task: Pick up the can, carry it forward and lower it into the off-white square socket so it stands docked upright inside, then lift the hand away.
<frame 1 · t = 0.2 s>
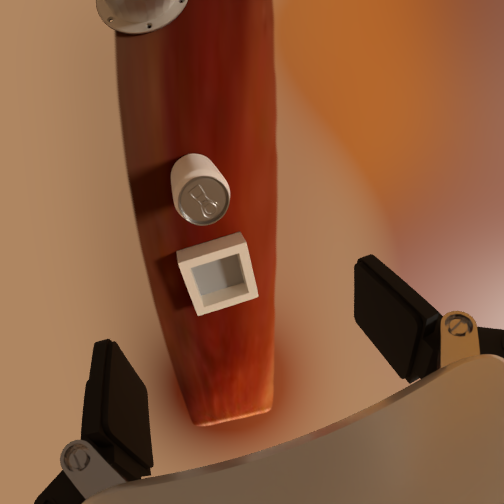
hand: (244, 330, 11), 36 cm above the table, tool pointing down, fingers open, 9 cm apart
dock socket: (216, 268, 51), on the table
can: (192, 174, 44), on the table
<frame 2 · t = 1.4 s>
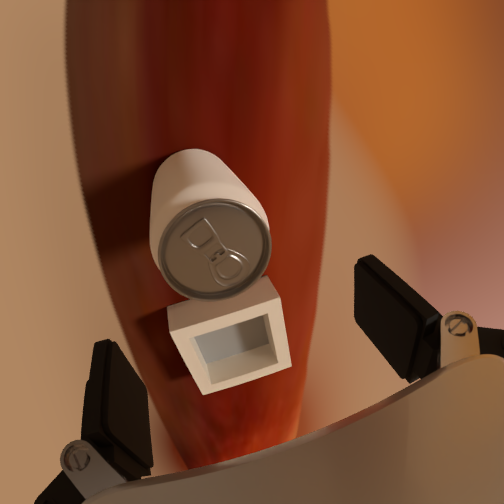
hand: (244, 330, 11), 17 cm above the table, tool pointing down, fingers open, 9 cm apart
dock socket: (228, 328, 33), on the table
can: (191, 185, 25), on the table
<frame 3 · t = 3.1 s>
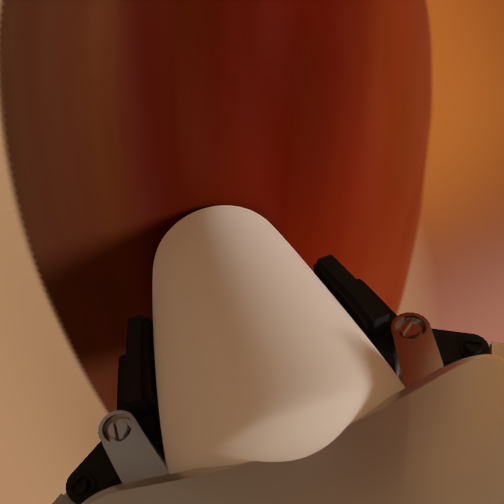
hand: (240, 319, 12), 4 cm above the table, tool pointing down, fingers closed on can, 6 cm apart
can: (218, 263, 16), on the table, touching gripper
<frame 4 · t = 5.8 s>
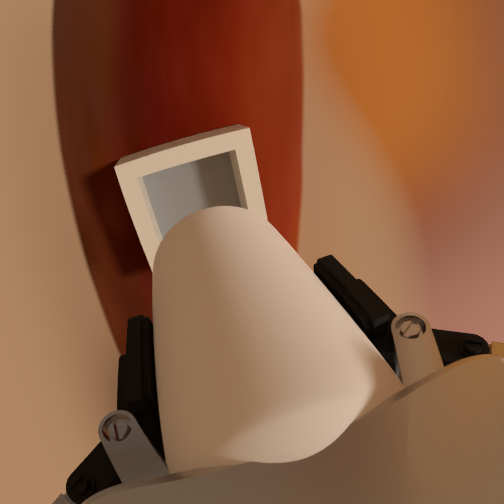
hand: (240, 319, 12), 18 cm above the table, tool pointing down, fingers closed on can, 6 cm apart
dock socket: (193, 195, 27), on the table
can: (218, 264, 16), point 14 cm above the table, touching gripper
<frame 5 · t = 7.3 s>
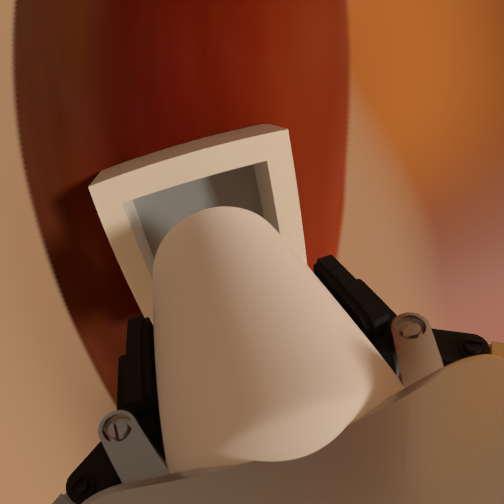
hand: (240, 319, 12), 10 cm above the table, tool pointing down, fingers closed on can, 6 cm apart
dock socket: (203, 220, 20), on the table
can: (218, 264, 16), point 6 cm above the table, touching gripper
when the fingers open (6 cm above the table, at t = 8.6 s): can drops 1 cm, resting on dock socket.
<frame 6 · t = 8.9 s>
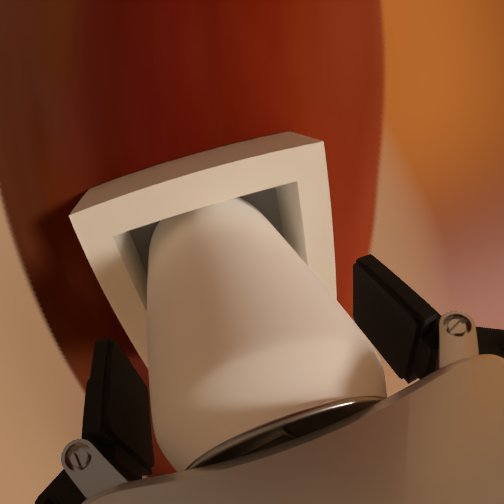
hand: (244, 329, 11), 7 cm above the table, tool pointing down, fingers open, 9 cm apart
dock socket: (213, 248, 17), on the table
can: (210, 248, 17), resting on dock socket
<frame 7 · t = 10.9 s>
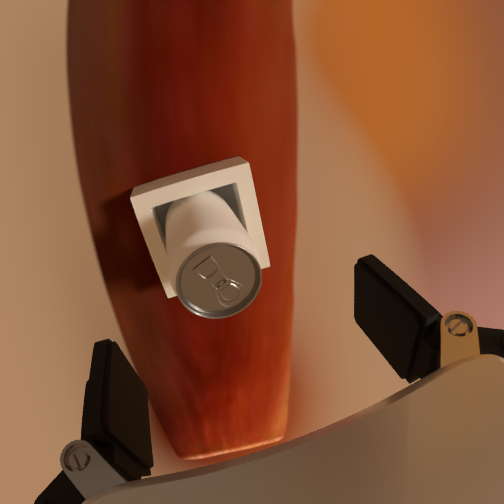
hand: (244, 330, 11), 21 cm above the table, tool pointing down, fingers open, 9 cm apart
dock socket: (200, 220, 31), on the table
can: (198, 219, 31), resting on dock socket
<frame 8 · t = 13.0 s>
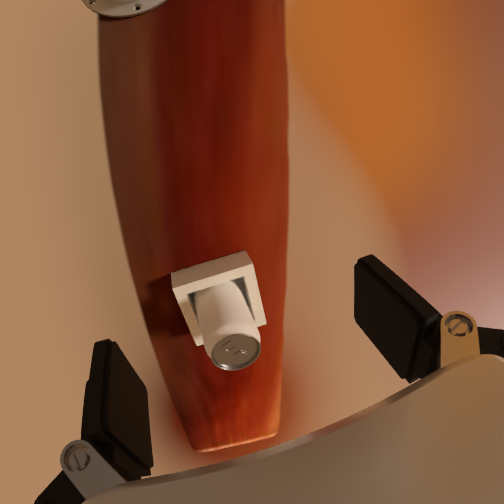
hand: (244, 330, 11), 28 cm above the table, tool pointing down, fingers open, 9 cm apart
dock socket: (217, 292, 44), on the table
can: (216, 292, 44), resting on dock socket
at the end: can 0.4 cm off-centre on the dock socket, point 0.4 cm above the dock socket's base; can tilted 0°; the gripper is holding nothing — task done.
